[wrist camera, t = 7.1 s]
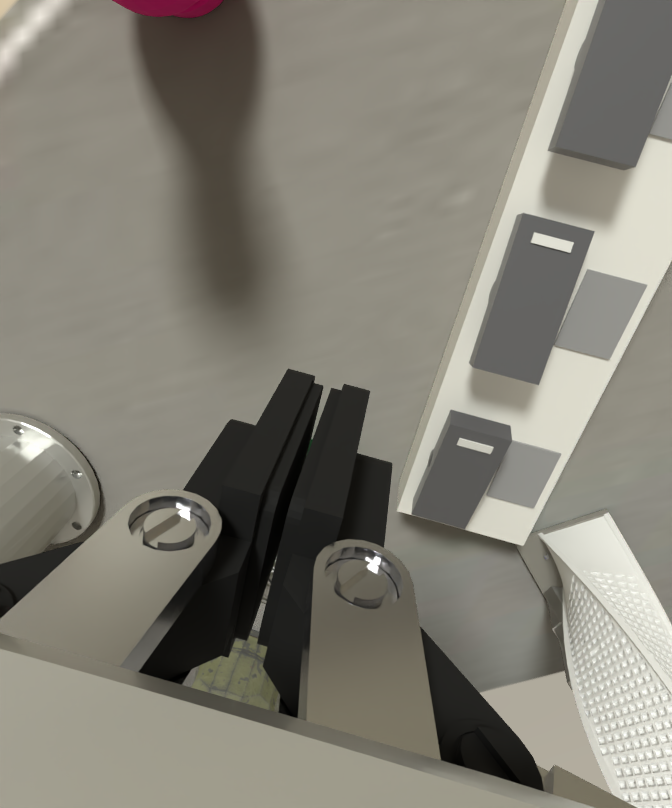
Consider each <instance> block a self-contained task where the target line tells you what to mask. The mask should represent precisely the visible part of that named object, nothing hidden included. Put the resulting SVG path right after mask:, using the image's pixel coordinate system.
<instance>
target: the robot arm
mask: <svg viewBox="0 0 672 808" xmlns="http://www.w3.org/2000/svg"><path fill="white" fill-rule="evenodd" d="M314 380H315V376H313V375H310V374H306V373H302V372H298V371H295V370H291V369H288V370H287V371H286V373H285V375H284V377H283V379H282V380H281V382H280V384H279V386H278V387H277V389H276V391H275V393H274V394H273V396H272V398H271V400H270V402H269V403H268V405H267V407H266V409H265V410H264V412H263V414H262V416H261V417H260V419H259V421H258V423H257V424H256V426H255V425H252V424H248V423H244V422H241V421H237V420H233V419H232V420H230V421H229V422H228V423H227V425H226V426H225V428H224V429H223V431H222V432H221V434H220V435H219V437H218V438H217V440H216V441H215V443H214V444H213V446H212V447H211V449H210V450H209V452H208V453H207V455H206V456H205V458H204V459H203V461H202V462H201V464H200V465H199V467H198V468H197V470H196V471H195V473H194V474H193V476H192V477H191V479H190V480H189V482H188V483H187V485H186V486H185V488H184V489H183V490H173V489H164V490H156V491H151V492H148V493H145V494H142V495H139V496H137V497H136V498H134V499H133V500H131V501H130V502H128V503H127V504H125V505H124V506H123V507H122V508H121V509H120V510H119V511H118V512H117V513H116V514H115V515H113V516H112V517H111V518H110V519H109V520H108V521H107V522H106V523H105V524H104V525H102V526H101V527H100V528H99V529H98V530H97V531H96V532H95V533H94V534H93V535H92V536H90V537H89V538H88V539H87V540H86V541H84V542H80V543H77V544H73V545H69V546H65V547H62V548H58V549H54V550H51V551H47V552H43V551H44V550H45V549H46V548H47V547H48V545H49V544H58V543H64V542H67V541H70V540H72V539H75V538H77V537H78V536H79V535H81V534H82V533H84V531H85V530H86V529H87V528H88V527H89V526H90V525H91V523H92V522H93V520H94V519H95V517H96V515H97V513H98V509H99V505H100V492H99V487H98V482H97V480H96V477H95V475H94V472H93V470H92V468H91V467H90V465H89V463H88V462H87V460H86V459H85V457H84V456H83V455H82V454H81V452H80V451H79V450H78V449H77V448H76V447H75V446H74V445H73V444H72V443H71V442H70V441H69V440H68V439H66V438H65V437H64V436H63V435H62V434H60V433H59V432H57V431H56V430H54V429H53V428H51V427H49V426H47V425H45V424H43V423H41V422H39V421H37V420H35V419H31V418H28V417H25V416H22V415H16V414H9V413H0V808H637V807H635V806H633V805H631V804H629V803H627V802H625V801H623V800H622V799H620V798H618V797H616V796H614V795H612V794H610V793H608V792H606V791H604V790H602V789H600V788H598V787H597V786H595V785H593V784H591V783H589V782H587V781H585V780H583V779H581V778H579V777H577V776H575V775H573V774H572V773H570V772H568V771H566V770H564V769H562V768H560V767H558V766H556V765H554V766H553V767H552V768H551V770H550V771H547V770H545V769H543V768H541V767H539V766H537V765H536V763H535V761H534V758H533V757H532V755H531V754H530V752H529V751H528V750H527V748H526V747H525V745H524V744H523V743H522V741H521V740H520V739H519V737H518V736H517V735H516V734H515V733H514V732H513V731H512V729H511V728H510V727H509V726H508V725H507V724H506V723H505V722H504V720H503V719H502V718H501V717H500V716H499V715H498V714H497V713H496V711H495V710H494V709H493V708H492V707H491V706H490V705H489V704H488V702H487V701H486V700H485V699H484V698H483V697H482V696H481V695H480V693H479V692H478V691H477V690H476V689H475V688H474V687H473V685H472V684H471V683H470V682H469V681H468V680H467V679H466V678H465V676H464V675H463V674H462V673H461V672H460V671H459V670H458V669H457V667H456V666H455V665H454V664H453V663H452V662H451V661H450V660H449V658H448V657H447V656H446V655H445V654H444V653H443V652H442V650H441V649H440V648H439V647H438V646H437V645H436V644H435V643H434V641H433V640H432V639H431V638H430V637H429V636H428V635H427V634H426V632H425V631H424V630H423V629H422V628H421V627H420V623H419V617H418V610H417V604H416V598H415V591H414V585H413V582H412V579H411V576H410V573H409V571H408V570H407V568H406V567H405V565H404V564H403V563H402V561H401V560H400V559H398V558H397V557H396V556H395V555H394V554H393V553H391V552H390V551H389V550H387V549H385V548H384V541H385V532H386V522H387V512H388V503H389V493H390V484H391V474H392V463H390V462H387V461H383V460H379V459H376V458H372V457H368V456H365V455H361V454H358V453H357V450H358V445H359V441H360V436H361V431H362V427H363V422H364V417H365V413H366V408H367V403H368V399H369V394H370V391H369V390H365V389H361V388H358V387H354V386H350V385H346V384H344V385H343V388H342V391H341V390H337V389H334V388H331V391H330V393H329V396H328V399H327V402H326V404H325V407H324V410H323V413H322V415H321V418H320V421H319V424H318V427H317V429H316V432H315V435H314V438H313V440H312V443H311V446H310V449H309V445H310V441H311V437H312V432H313V428H314V424H315V420H316V416H317V412H318V407H319V403H320V399H321V395H322V391H323V385H319V384H315V383H314ZM308 449H309V451H308ZM307 453H308V454H307ZM42 552H43V553H42ZM277 554H278V555H277ZM276 557H277V559H276ZM275 560H276V563H275ZM274 563H275V568H274V572H273V576H272V581H271V585H270V589H269V593H268V598H267V602H266V606H265V611H264V615H263V619H262V623H261V628H260V632H259V636H258V641H257V644H259V645H263V646H266V647H267V651H266V655H265V659H264V663H263V668H264V670H265V671H266V673H267V674H268V676H269V678H270V679H271V681H272V683H273V684H274V686H275V688H276V689H277V691H278V697H277V700H276V704H275V711H270V710H267V709H264V708H260V707H257V706H253V705H250V704H246V703H243V702H239V701H236V700H232V699H229V698H225V697H222V696H219V695H215V694H212V693H208V692H205V691H201V690H198V689H194V688H191V687H192V685H193V683H194V681H195V679H196V676H197V674H198V671H199V666H200V665H202V664H204V663H206V662H209V661H211V660H213V659H215V658H218V657H220V656H224V657H227V658H229V655H230V652H231V649H232V647H233V644H234V641H235V639H236V638H238V639H242V640H245V641H247V640H248V638H249V635H250V632H251V629H252V626H253V623H254V621H255V618H256V615H257V612H258V609H259V606H260V603H261V600H262V598H263V595H264V592H265V589H266V586H267V583H268V580H269V577H270V575H271V572H272V569H273V566H274Z"/></svg>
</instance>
